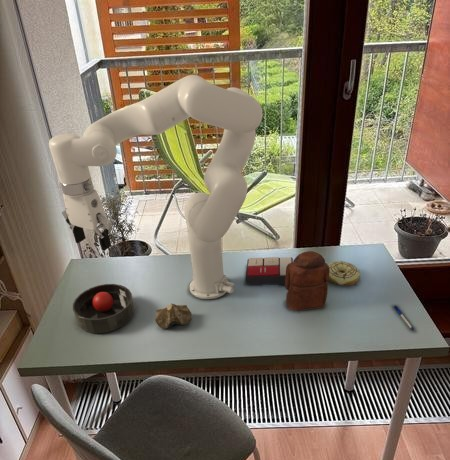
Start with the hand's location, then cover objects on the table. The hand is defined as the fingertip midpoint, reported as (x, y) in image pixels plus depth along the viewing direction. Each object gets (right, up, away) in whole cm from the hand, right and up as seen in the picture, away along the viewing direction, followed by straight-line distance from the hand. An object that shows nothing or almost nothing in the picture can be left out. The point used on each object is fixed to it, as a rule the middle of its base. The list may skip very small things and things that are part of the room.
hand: (93, 244), depth 119 cm
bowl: (0, -20, +11) cm, 23 cm away
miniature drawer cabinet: (+51, -8, +24) cm, 57 cm away
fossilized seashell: (+21, -22, +7) cm, 31 cm away
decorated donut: (+73, -9, +20) cm, 77 cm away
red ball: (0, -16, +11) cm, 19 cm away
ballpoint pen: (+86, -21, +3) cm, 89 cm away
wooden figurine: (+60, -17, +10) cm, 63 cm away
